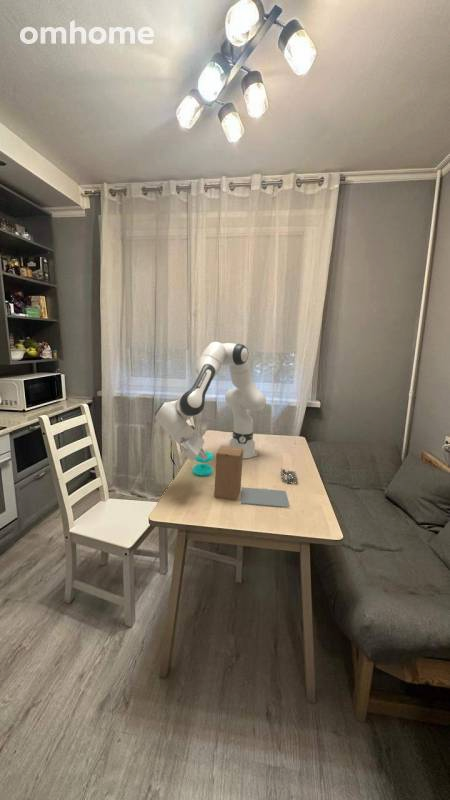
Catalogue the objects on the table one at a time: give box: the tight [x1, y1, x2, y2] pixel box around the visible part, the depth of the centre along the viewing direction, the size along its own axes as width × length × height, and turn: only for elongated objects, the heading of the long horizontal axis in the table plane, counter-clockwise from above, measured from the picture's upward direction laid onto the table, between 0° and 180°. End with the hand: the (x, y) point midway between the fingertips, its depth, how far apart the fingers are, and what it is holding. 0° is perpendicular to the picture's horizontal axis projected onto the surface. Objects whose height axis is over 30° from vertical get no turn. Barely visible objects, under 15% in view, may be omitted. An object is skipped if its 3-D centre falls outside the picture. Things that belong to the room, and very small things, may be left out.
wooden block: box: [213, 445, 244, 501], centre depth 134 cm, size 10×10×20 cm
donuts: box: [192, 450, 214, 477], centre depth 155 cm, size 10×10×10 cm
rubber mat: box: [240, 486, 291, 508], centre depth 133 cm, size 14×20×1 cm
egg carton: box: [280, 467, 298, 484], centre depth 153 cm, size 11×8×4 cm
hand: (206, 458), depth 133 cm, fingers closed
